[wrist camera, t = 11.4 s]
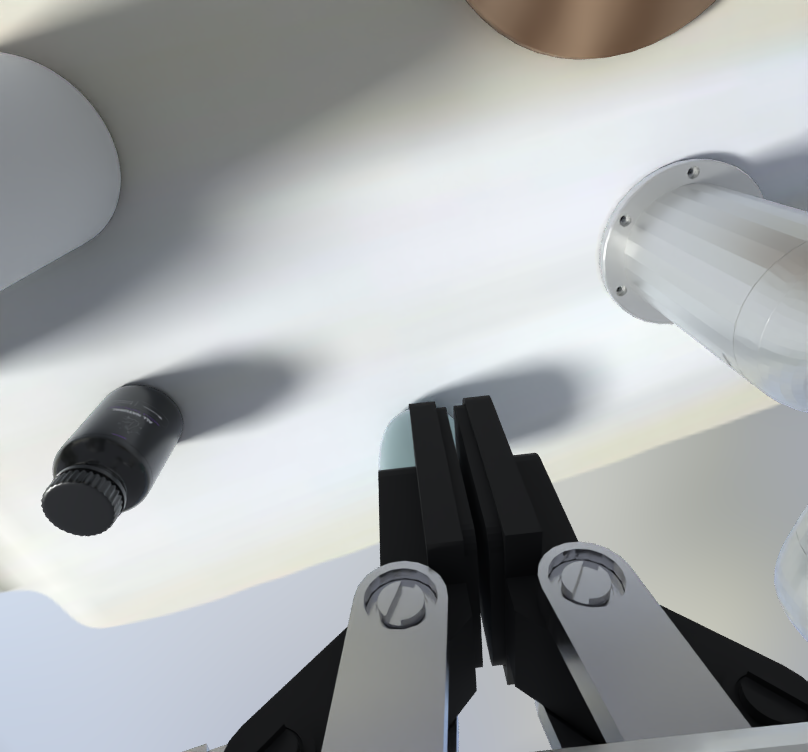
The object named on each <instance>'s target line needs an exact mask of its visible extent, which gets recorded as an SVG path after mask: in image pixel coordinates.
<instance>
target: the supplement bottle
mask: <svg viewBox="0 0 808 752" xmlns="http://www.w3.org/2000/svg"><path fill="white" fill-rule="evenodd" d="M182 428H183V421H182V416H181V413H180V411H179V409H178V407H177V406H176V404H175V403H174V402H173V401H172V400H171V399H170V398H169V397H168V396H167V395H165V394H164V393H162V392H160V391H159V390H156V389H154V388H151V387H148V386H143V385H128V386H124V387H121V388H118V389H116V390H114V391H113V392H111V393H110V394H109V395H108V396H107V397H106V398H105V399H104V400H103V401H102V402H101V403H100V404H99V405H98V406H97V407H96V409H95V410H94V411H93V412H92V413H91V414H90V415H89V417H88V418H87V419H86V420H85V421H84V422H83V423H82V424H81V426H80V427H79V428H78V429H77V430H76V431H75V432H74V434H73V435H72V436H71V437H70V438H69V439H68V440H67V441H66V443H65V444H64V445H63V446H62V447H61V449H60V450H59V451H58V453H57V454H56V456H55V459H54V462H53V478H54V479H53V481H52V483H51V484H50V485H49V486H48V488H47V489H46V491H45V492H44V494H43V498H42V500H41V501H42V505H41V506H42V508H43V512H44V513H45V516H46V517H47V518H48V519H49V521H50V522H52V523H53V524H54V525H55V526H56V527H58V528H59V529H61V530H64V531H66V532H67V533H72V534H74V535H80V536H91V535H96V534H101V533H102V532H104V531H106V530H107V529H108V528H110V527H111V526H112V525H113V523H114V522H115V520H116V519H117V517H118V516H119V515H120V514H121V513H122V512H125V511H128V510H130V509H132V508H134V507H136V506H137V505H138V504H140V503H141V502H142V501H143V500H144V499H145V497H146V496H147V494H148V493H149V491H150V490H151V488H152V486H153V484H154V483H155V481H156V479H157V477H158V476H159V474H160V472H161V470H162V468H163V467H164V465H165V463H166V461H167V460H168V458H169V456H170V454H171V453H172V451H173V449H174V447H175V446H176V444H177V442H178V440H179V438H180V436H181V433H182Z"/></svg>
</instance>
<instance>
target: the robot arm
mask: <svg viewBox="0 0 808 752" xmlns="http://www.w3.org/2000/svg"><path fill="white" fill-rule="evenodd" d="M689 169H690V172H689V173H688V170H689ZM687 173H688V174H687ZM622 216H624V218H623V220H622V221H620V218H621V217H622ZM599 265H600V271H601V277H602V280H603V283H604V285H605V288H606V290H607V292H608V293H609V295H610V296H611V297H612V299H613V300H614V301H615V302H616V303H617V304H618V305H619V306H620V307H621V308H622V309H623V310H625V311H626V312H627V313H629V314H630V315H632V316H633V317H635V318H638V319H640V320H643V321H645V322H650V323H656V324H676V325H677V326H678V327H679V328H681V329H682V330H683V331H684V332H686V333H687V334H688V335H690V336H691V337H692V338H693V339H695V340H696V341H697V342H699V343H700V344H701V345H702V346H704V347H705V348H706V349H708V350H709V351H710V352H711V353H713V354H714V355H715V356H717V357H718V358H719V359H720V360H722V361H723V362H724V363H725V364H727V365H728V366H729V367H731V368H732V369H733V370H734V371H736V372H737V373H738V374H740V375H741V376H742V377H743V378H745V379H746V380H747V381H749V382H750V383H751V384H753V385H754V386H755V387H757V388H758V389H759V390H761V391H762V392H763V393H765V394H766V395H767V396H769V397H771V398H772V399H774V400H775V401H777V402H779V403H781V404H783V405H786V406H788V407H790V408H793V409H796V410H799V411H803V412H807V413H808V212H807V211H804V210H800V209H797V208H793V207H790V206H786V205H783V204H780V203H776V202H773V201H769V200H766V199H764V197H763V195H762V193H761V191H760V189H759V187H758V185H757V184H756V183H755V182H754V181H753V179H752V178H751V177H750V176H749V175H748V174H746V173H745V172H744V171H742V170H741V169H739V168H738V167H736V166H733V165H730V164H728V163H725V162H722V161H717V160H711V159H689V160H684V161H679V162H675V163H672V164H670V165H667V166H665V167H662V168H660V169H658V170H656V171H655V172H653V173H651V174H650V175H648V176H646V177H645V178H644V179H642V180H641V181H640V182H639V183H638V184H636V185H635V186H634V187H633V188H632V189H631V190H630V191H629V192H628V193H627V194H626V195H625V197H624V198H623V199H622V200H621V201H620V202H619V204H618V205H617V207H616V209H615V210H614V212H613V213H612V215H611V217H610V218H609V221H608V223H607V226H606V228H605V230H604V233H603V237H602V241H601V246H600V258H599ZM618 287H620V288H619V289H618V290H617V288H618ZM409 410H410V420H411V429H412V439H413V448H414V457H415V466H413V467H404V468H395V469H386V470H379V472H378V480H379V525H380V567H378V568H377V569H375V570H374V571H372V572H371V573H369V574H368V575H367V576H366V577H365V578H364V579H363V581H362V582H361V583H360V584H359V585H358V588H357V590H356V593H355V595H354V599H353V604H352V608H351V613H350V618H349V622H348V627H347V628H346V629H345V630H344V631H342V632H341V633H340V634H339V636H337V637H336V638H335V639H334V640H333V641H332V642H331V643H330V644H329V645H328V646H326V648H324V650H322V651H321V652H320V653H319V654H318V655H317V656H316V657H315V658H314V659H313V660H312V661H311V662H309V663H308V664H307V665H306V666H305V667H304V668H303V669H302V670H301V671H300V672H299V673H298V674H297V675H296V676H295V677H294V678H292V679H291V681H289V682H288V683H287V684H286V685H285V686H284V687H283V688H282V689H281V690H280V691H279V692H278V693H277V694H275V695H274V696H273V697H272V698H271V699H270V700H269V701H268V702H267V703H266V704H265V705H264V706H263V707H262V708H261V709H260V710H258V711H257V712H256V713H255V714H254V715H253V716H252V717H251V718H250V719H249V720H248V721H247V722H246V723H245V724H244V725H243V726H242V727H241V728H240V729H239V730H238V731H237V733H236V734H235V735H234V736H233V737H232V738H231V740H230V741H229V742H228V744H227V745H224V746H221V747H218V748H215V749H212V750H209V748H208V745H207V744H204V745H201V746H198V747H195V748H192V749H189V750H187V751H184V752H459V722H458V714H459V713H460V712H461V710H462V709H463V707H464V706H465V705H466V704H467V702H468V701H469V700H470V699H471V697H472V696H473V695H474V693H475V692H476V672H475V668H478V667H483V658H482V638H481V617H482V622H483V627H484V632H485V636H486V641H487V646H488V650H489V655H490V660H491V663H492V666H496V665H503V668H504V672H505V676H506V681H507V685H510V684H515V687H517V688H518V689H520V690H521V691H523V692H524V693H526V694H527V695H529V696H530V697H531V698H533V699H534V700H535V706H536V710H537V713H538V717H539V719H540V722H541V724H542V727H543V729H544V731H545V734H546V736H547V738H548V741H549V743H550V745H551V748H552V750H546V751H537V752H808V681H806V680H805V679H804V678H803V677H801V676H800V675H798V674H797V673H795V672H793V671H792V670H790V669H788V668H787V667H785V666H783V665H781V664H779V663H777V662H775V661H773V660H771V659H769V658H767V657H765V656H763V655H761V654H759V653H757V652H755V651H753V650H751V649H749V648H747V647H744V646H743V645H741V644H739V643H737V642H734V641H733V640H730V639H728V638H726V637H724V636H722V635H720V634H718V633H716V632H714V631H712V630H710V629H708V628H706V627H704V626H702V625H700V624H698V623H696V622H694V621H692V620H690V619H687V618H686V617H684V616H682V615H679V614H677V613H675V612H673V611H671V610H669V609H667V608H665V607H663V606H661V605H659V604H658V602H657V601H656V600H655V598H654V597H653V596H652V594H651V593H650V592H649V590H648V589H647V588H646V586H645V585H644V584H643V582H642V581H641V580H640V578H639V577H638V576H637V574H636V573H635V572H634V570H633V569H632V568H631V567H630V566H629V564H628V563H627V562H626V561H625V560H624V559H623V558H622V557H621V556H619V555H618V554H616V553H614V552H613V551H611V550H610V549H608V548H605V547H602V546H599V545H596V544H593V543H585V542H578V540H577V538H576V536H575V533H574V531H573V529H572V527H571V525H570V522H569V520H568V518H567V516H566V514H565V511H564V509H563V507H562V505H561V503H560V501H559V498H558V496H557V494H556V492H555V489H554V487H553V485H552V483H551V481H550V478H549V476H548V474H547V472H546V470H545V468H544V465H543V463H542V461H541V459H540V457H539V455H538V454H536V453H530V454H521V455H513V454H512V452H511V449H510V446H509V444H508V441H507V439H506V436H505V434H504V431H503V428H502V426H501V423H500V421H499V418H498V415H497V413H496V410H495V408H494V405H493V402H492V400H491V397H490V396H489V395H488V396H479V397H470V398H463V405H460V406H454V409H453V410H454V427H455V443H456V448H455V444H454V440H453V435H452V431H451V427H450V423H449V418H448V414H447V410H446V407H442V408H436V405H435V402H424V403H415V404H409ZM774 575H775V576H774V580H775V581H774V582H775V589H776V592H777V596H778V599H779V602H780V604H781V606H782V608H783V610H784V611H785V613H786V615H787V617H788V618H789V620H790V621H791V623H792V624H793V625H794V627H795V628H796V629H797V630H798V631H799V633H800V634H801V635H802V636H803V637H804V638H805V639H806V640H807V642H808V504H807V506H806V507H805V509H804V510H803V512H802V514H801V515H800V517H799V518H798V521H797V522H796V524H795V526H794V527H793V529H792V530H791V532H790V533H789V535H788V537H787V539H786V541H785V542H784V544H783V546H782V548H781V550H780V553H779V556H778V558H777V562H776V566H775V574H774ZM480 613H481V615H480ZM480 616H481V617H480Z"/></svg>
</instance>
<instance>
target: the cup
mask: <svg viewBox="0 0 808 752" xmlns="http://www.w3.org/2000/svg"><path fill="white" fill-rule="evenodd" d="M447 414H448V413H447ZM448 418H449V423H450V427H451V431H452V435H453V440H454V444H455V448H456V443H455V427H454V418H453V417H451V416H450V415H449V414H448ZM413 466H415V457H414V448H413V439H412V429H411V420H410V410H409V409H408V410H406V411H403V412H402V413H400V414H398V415H397V416H395V417H394V418H393V419H392V420H391V421H390V423H389V424H388V426H387V427H386V429H385V431H384V434H383V437H382V440H381V445H380V453H379V470H386V469H395V468H404V467H413Z"/></svg>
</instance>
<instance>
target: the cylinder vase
mask: <svg viewBox="0 0 808 752" xmlns="http://www.w3.org/2000/svg"><path fill="white" fill-rule="evenodd" d="M120 187H121V173H120V164H119V159H118V155H117V151H116V148H115V145H114V142H113V140H112V137H111V135H110V133H109V131H108V129H107V127H106V125H105V123H104V122H103V120H102V119H101V117H100V115H99V114H98V113H97V111H96V110H95V108H94V107H93V106H92V105H91V103H90V102H89V101H88V100H87V99H86V98H85V97H84V96H83V95H82V94H81V93H80V92H79V91H78V90H77V89H76V88H75V87H74V86H73V85H72V84H70V83H69V82H68V81H67V80H65V79H64V78H63V77H61V76H60V75H58V74H57V73H55V72H54V71H52V70H50V69H49V68H47V67H45V66H43V65H41V64H39V63H37V62H34V61H32V60H29V59H27V58H24V57H20V56H17V55H13V54H8V53H1V52H0V291H2V290H3V289H5V288H7V287H9V286H10V285H12V284H14V283H16V282H18V281H19V280H21V279H23V278H25V277H26V276H28V275H30V274H32V273H33V272H35V271H37V270H39V269H40V268H42V267H44V266H46V265H48V264H49V263H51V262H53V261H55V260H56V259H58V258H60V257H62V256H63V255H65V254H67V253H69V252H71V251H72V250H74V249H76V248H78V247H79V246H81V245H83V244H85V243H86V242H88V241H90V240H91V239H93V238H94V237H95V236H96V235H98V234H99V233H100V232H101V231H102V230H103V229H104V227H105V226H106V225H107V224H108V222H109V221H110V219H111V217H112V215H113V213H114V211H115V209H116V206H117V203H118V199H119V195H120Z"/></svg>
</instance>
